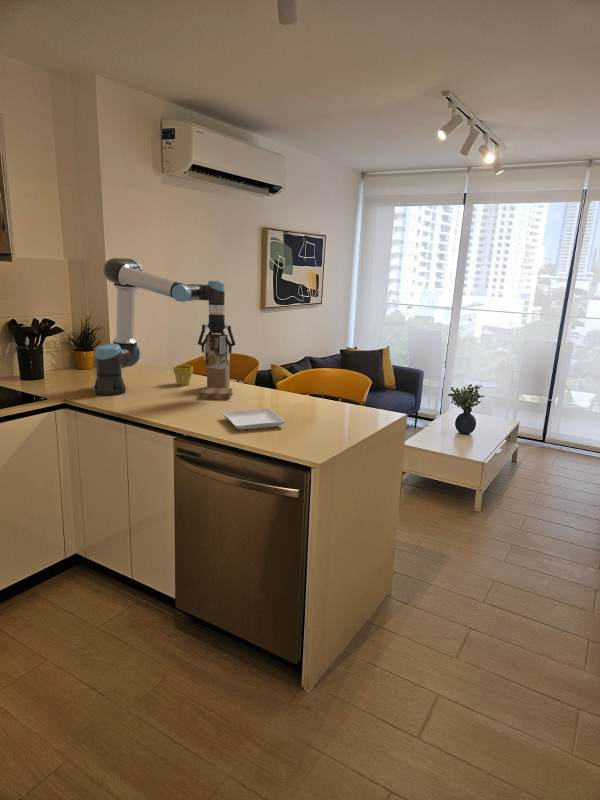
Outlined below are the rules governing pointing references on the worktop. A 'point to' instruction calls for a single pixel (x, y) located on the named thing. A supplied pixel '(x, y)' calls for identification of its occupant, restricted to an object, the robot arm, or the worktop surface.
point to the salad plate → (253, 419)
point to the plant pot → (183, 374)
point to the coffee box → (216, 351)
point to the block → (218, 377)
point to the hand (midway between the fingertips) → (216, 359)
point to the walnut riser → (216, 393)
